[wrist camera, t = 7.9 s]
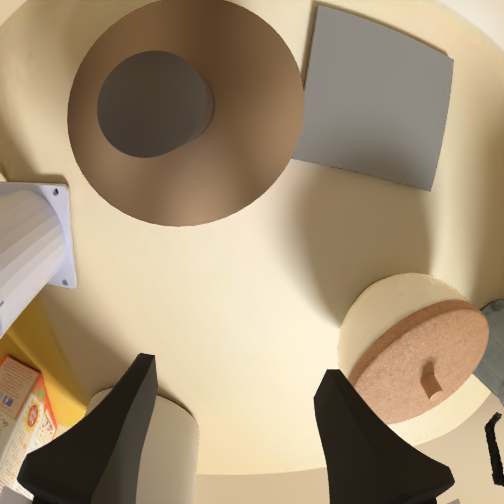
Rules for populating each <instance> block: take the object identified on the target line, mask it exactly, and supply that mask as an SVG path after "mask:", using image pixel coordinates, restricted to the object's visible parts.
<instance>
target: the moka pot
mask: <svg viewBox="0 0 504 504" xmlns="http://www.w3.org/2000/svg"><path fill="white" fill-rule="evenodd" d="M481 312H482V313H483V314H484V316H485V318H486V320H487V322H488V327H489V337H488V342H487V346H486V349H485V352H484V354H483V356H482V358H481V360H480V362H479V364H478V365H477V367H476V368H475V370H474V371H473V373H472V374H474V375H475V376H476V377H477V378H478V379H479V380H480V381H481V382H482V383H483V384H484V385H485V386H486V387H487V388H488V389H489V390H490V391H491V392H492V393H493V394H494V395H496V396H497V397H498V398H499V399H500V402H501V403H502V405H503V406H504V300H497V301H494V302H492V303H490V304H489V305H488V306H486V307H485V308H484V309H483V310H482V311H481ZM501 415H502V414H499V413H498V412H496V414H495V415H493V417H492V418H491V419H490V420H489V422H488V423H487V424H486V426H485V432H486V438H487V443H488V449H489V453H490V457H491V458H490V460H491V466H492V471H493V474H492V476H493V481H494V484H496V485H502V486H503V487H504V474H503V467H502V462H501V461H500V460H501V458H500V454H499V449H498V446H497V442H496V441H495V440H496V438H495V432H494V427H495V424H496V422H497V421H498V420H499V419H500V418H501Z"/></svg>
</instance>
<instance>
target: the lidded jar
mask: <svg viewBox="0 0 504 504" xmlns="http://www.w3.org/2000/svg"><path fill="white" fill-rule="evenodd" d="M488 337H489V327H488V322H487V320H486V318H485V316H484V314H483V313H482V312H481V311H480V310H479V309H478V308H477V307H476V306H474V305H473V304H471V303H470V302H469V301H468V300H467V299H466V298H465V297H463V296H462V295H461V294H460V293H459V292H458V291H457V290H456V289H454V288H453V287H451V286H450V285H449V284H447V283H445V282H443V281H441V280H439V279H437V278H435V277H433V276H429V275H425V274H420V273H403V274H397V275H394V276H390V277H387V278H384V279H381V280H379V281H376V282H375V283H373V284H371V285H370V286H369V287H367V288H366V289H365V290H364V291H363V292H362V293H361V294H360V295H359V296H358V298H357V299H356V301H355V302H354V303H353V305H352V306H351V308H350V309H349V311H348V312H347V314H346V316H345V319H344V321H343V323H342V326H341V329H340V333H339V339H338V347H337V350H338V365H339V369H340V370H341V372H342V373H343V374H344V375H345V377H346V378H347V379H348V381H349V382H350V383H351V385H352V386H353V387H354V388H355V390H356V391H357V392H358V394H359V395H360V396H361V397H362V399H363V400H364V401H365V402H366V403H367V405H368V406H369V407H370V408H371V409H372V410H373V412H374V413H375V414H376V415H377V416H378V417H379V418H380V419H381V420H382V421H383V422H384V423H385V424H386V425H388V424H394V423H399V422H402V421H406V420H409V419H411V418H414V417H416V416H419V415H421V414H423V413H425V412H427V411H429V410H430V409H432V408H434V407H435V406H437V405H438V404H440V403H441V402H443V401H444V400H445V399H447V398H448V397H449V396H450V395H452V394H453V393H454V392H455V391H456V390H457V389H458V388H459V387H460V386H461V385H462V384H463V383H464V382H465V381H466V380H467V379H468V378H469V376H470V375H471V374H472V373H473V371H474V370H475V368H476V367H477V365H478V364H479V362H480V360H481V358H482V356H483V354H484V352H485V349H486V346H487V342H488Z"/></svg>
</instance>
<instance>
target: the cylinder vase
mask: <svg viewBox="0 0 504 504" xmlns="http://www.w3.org/2000/svg"><path fill="white" fill-rule="evenodd" d="M112 389H113V388H110V389H105V390H102V391H100V392H98V393H97V394H95V395H94V396H93V397H92V399H91V401H90V403H89V406H88V408H87V411H86V414H85V416H86V415H87V414H89V413H90V412H91V411H92V410H93V409H94V408H95V407H96V406H97V405H98V404H99V403H100V402H101V401H102V400H103V399H104V398H105V396H106V395H107V394H108V393H109V392H110V391H111V390H112ZM85 416H84V417H85ZM198 445H199V428H198V425H197V423H196V421H195V420H194V418H193V417H192V416H191V415H190V414H189V413H188V412H187V411H186V410H184V409H183V408H182V407H180V406H179V405H177V404H175V403H174V402H172V401H170V400H168V399H166V398H163V397H161V396H158V395H156V400H155V406H154V410H153V414H152V417H151V421H150V424H149V428H148V431H147V435H146V438H145V442H144V446H143V450H142V454H141V460H140V467H139V474H138V483H137V494H136V504H195V489H196V474H197V459H198Z"/></svg>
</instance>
